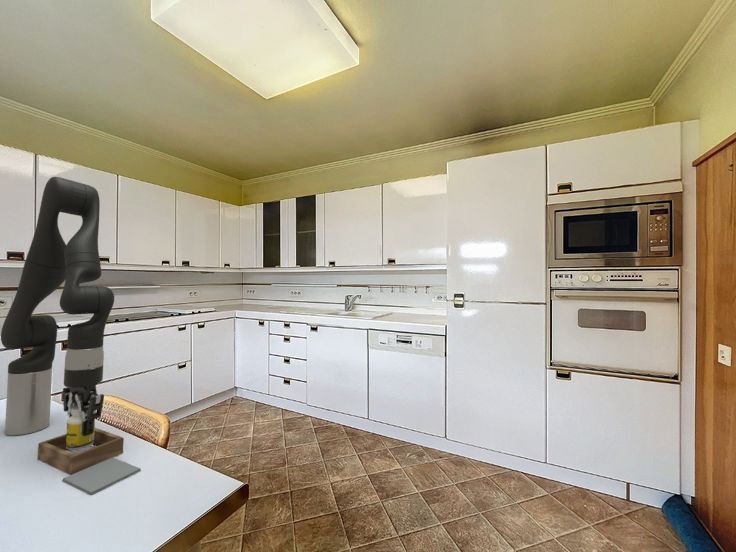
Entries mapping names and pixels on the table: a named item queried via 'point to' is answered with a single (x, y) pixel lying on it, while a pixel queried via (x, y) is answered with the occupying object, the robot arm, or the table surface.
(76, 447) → the supplement bottle
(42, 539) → the table surface
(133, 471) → the slate mat
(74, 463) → the walnut box
